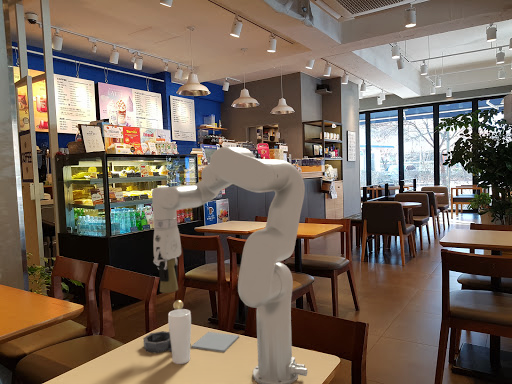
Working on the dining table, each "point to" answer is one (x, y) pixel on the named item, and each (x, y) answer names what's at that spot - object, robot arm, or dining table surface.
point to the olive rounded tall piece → (172, 283)
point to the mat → (215, 341)
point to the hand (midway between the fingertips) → (168, 278)
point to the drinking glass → (180, 335)
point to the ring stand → (160, 337)
